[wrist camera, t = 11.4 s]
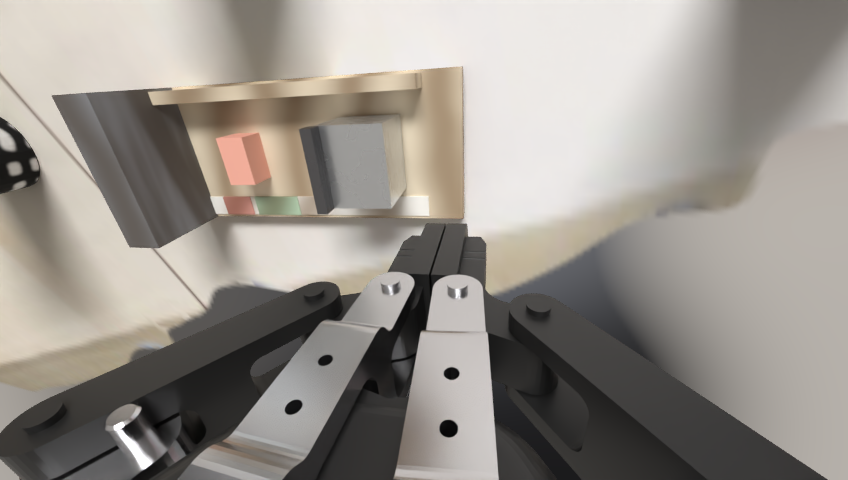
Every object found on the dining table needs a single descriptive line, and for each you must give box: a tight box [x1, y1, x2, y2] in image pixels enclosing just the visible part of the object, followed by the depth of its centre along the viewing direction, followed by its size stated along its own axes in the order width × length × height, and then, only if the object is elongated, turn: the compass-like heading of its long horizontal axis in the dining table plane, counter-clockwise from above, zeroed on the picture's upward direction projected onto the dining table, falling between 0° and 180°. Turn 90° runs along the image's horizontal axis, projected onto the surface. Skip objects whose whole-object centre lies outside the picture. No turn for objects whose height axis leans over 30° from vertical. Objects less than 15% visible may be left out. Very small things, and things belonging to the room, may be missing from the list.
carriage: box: [299, 114, 407, 214], centre depth 25 cm, size 5×6×6 cm
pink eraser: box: [216, 133, 271, 185], centre depth 29 cm, size 2×4×2 cm, turn 4°
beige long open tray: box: [52, 67, 464, 248], centre depth 27 cm, size 28×12×8 cm, turn 93°
